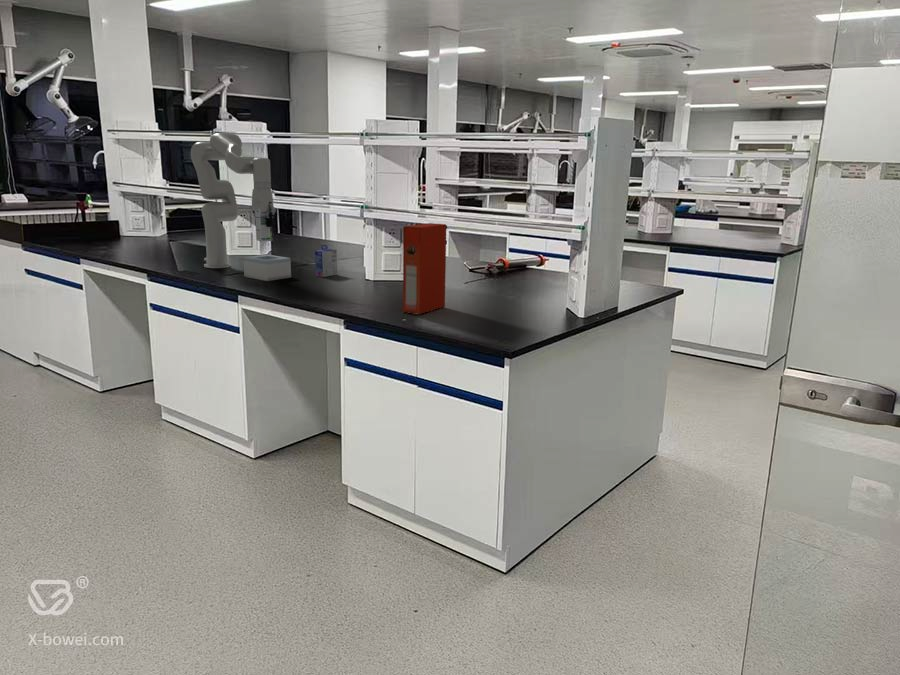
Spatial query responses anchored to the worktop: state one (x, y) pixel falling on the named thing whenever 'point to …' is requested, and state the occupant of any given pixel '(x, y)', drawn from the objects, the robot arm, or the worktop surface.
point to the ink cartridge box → (326, 262)
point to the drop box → (267, 267)
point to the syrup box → (262, 227)
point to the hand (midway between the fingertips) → (263, 225)
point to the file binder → (424, 267)
